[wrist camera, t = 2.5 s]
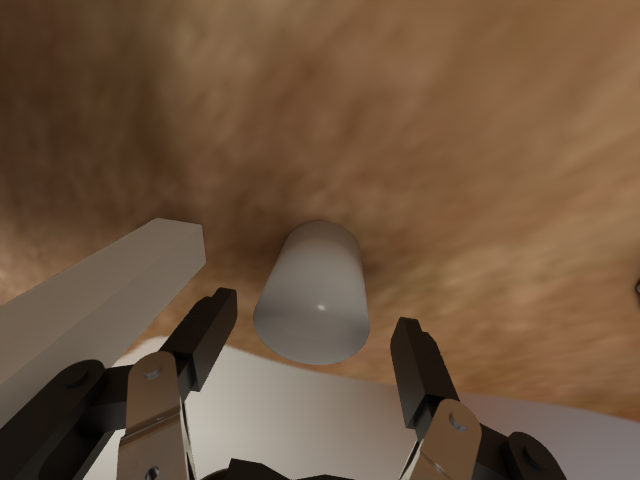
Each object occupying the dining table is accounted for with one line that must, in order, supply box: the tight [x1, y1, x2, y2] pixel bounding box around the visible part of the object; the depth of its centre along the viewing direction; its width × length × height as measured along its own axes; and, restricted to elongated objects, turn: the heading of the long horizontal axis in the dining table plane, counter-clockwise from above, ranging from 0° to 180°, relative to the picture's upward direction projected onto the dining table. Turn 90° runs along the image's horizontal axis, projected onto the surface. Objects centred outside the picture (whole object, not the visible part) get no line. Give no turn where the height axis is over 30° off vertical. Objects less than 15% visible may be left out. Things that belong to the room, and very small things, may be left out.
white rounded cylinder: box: [253, 221, 370, 365], centre depth 13 cm, size 5×5×6 cm
